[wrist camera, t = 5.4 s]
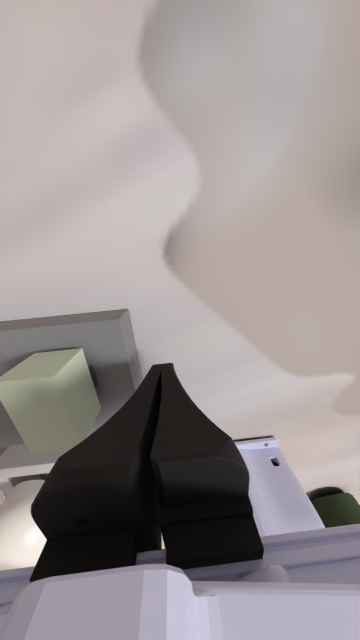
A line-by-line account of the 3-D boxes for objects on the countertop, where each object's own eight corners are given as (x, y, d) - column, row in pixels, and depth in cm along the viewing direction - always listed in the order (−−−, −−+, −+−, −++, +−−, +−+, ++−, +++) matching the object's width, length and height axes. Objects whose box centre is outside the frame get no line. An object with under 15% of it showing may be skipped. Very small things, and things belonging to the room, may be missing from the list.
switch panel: (128, 308, 13) (109, 329, 9) (166, 502, 22) (165, 556, 18) (-55, 327, 13) (-156, 356, 9) (57, 515, 22) (31, 574, 18)
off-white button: (61, 476, 12) (29, 540, 10) (78, 510, 14) (55, 575, 11) (0, 483, 12) (-51, 550, 9) (24, 517, 14) (-14, 583, 11)
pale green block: (82, 348, 11) (53, 376, 8) (101, 408, 13) (82, 447, 10) (34, 353, 11) (-10, 383, 8) (60, 412, 12) (30, 453, 10)
